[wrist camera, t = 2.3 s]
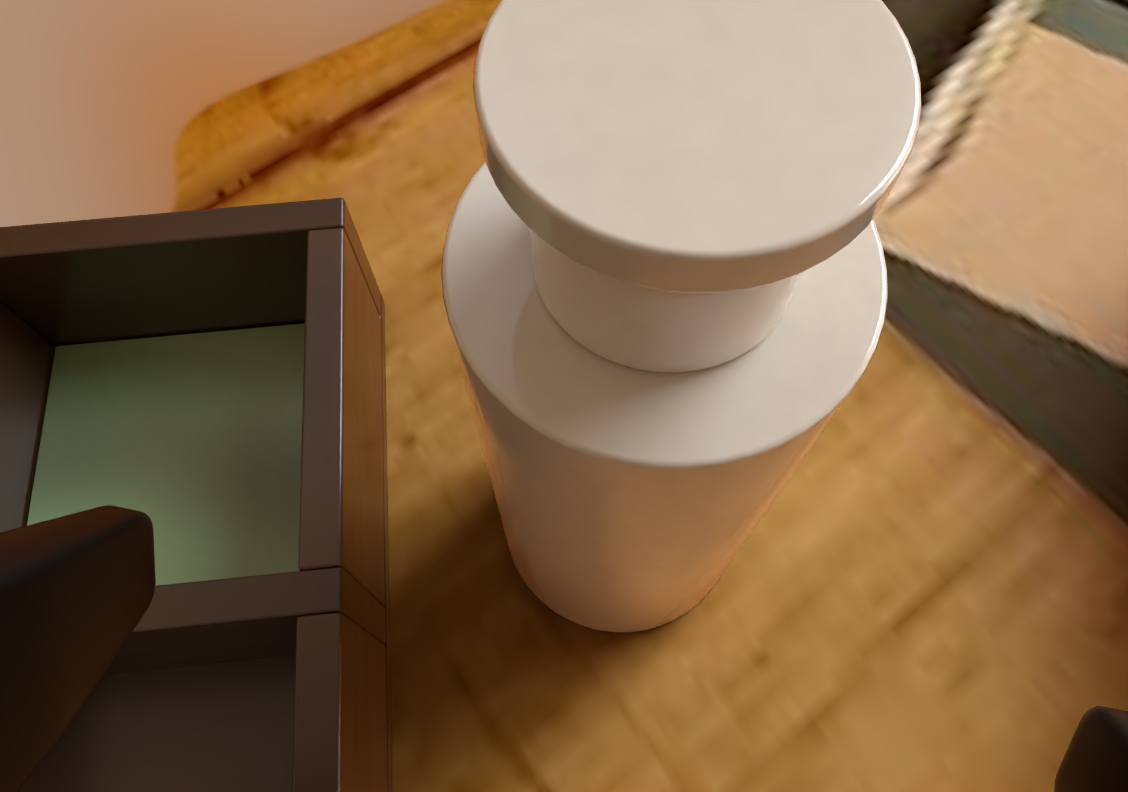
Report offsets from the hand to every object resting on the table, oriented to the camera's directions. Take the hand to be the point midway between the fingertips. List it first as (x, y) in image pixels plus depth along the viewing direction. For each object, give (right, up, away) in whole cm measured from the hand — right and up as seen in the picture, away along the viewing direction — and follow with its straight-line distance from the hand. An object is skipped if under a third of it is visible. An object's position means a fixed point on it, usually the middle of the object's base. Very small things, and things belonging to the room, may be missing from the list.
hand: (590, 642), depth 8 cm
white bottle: (+1, 0, +12) cm, 12 cm away
